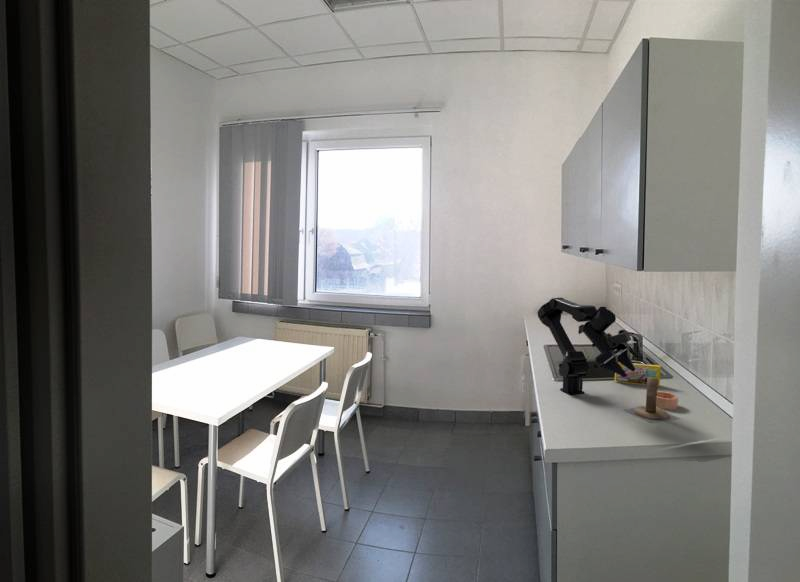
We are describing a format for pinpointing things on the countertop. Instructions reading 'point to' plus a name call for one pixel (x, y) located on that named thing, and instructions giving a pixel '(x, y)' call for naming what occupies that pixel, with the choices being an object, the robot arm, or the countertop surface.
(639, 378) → the candy box
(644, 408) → the walnut cover
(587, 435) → the countertop surface
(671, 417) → the grey rubber mat
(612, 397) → the countertop surface
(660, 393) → the terracotta bowl
